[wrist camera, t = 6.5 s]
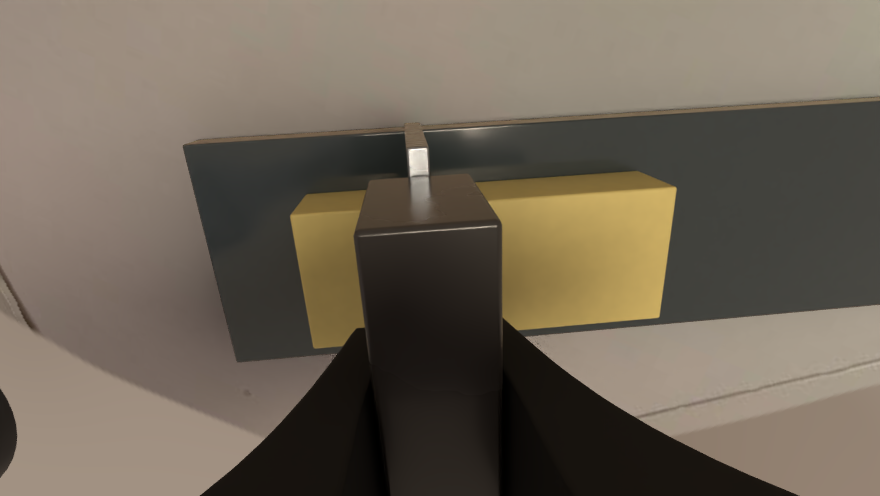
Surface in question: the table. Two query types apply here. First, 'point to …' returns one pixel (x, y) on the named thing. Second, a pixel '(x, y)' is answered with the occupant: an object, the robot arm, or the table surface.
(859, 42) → the table surface
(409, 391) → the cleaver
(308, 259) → the butter pat
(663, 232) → the butter stick
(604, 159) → the butter board
